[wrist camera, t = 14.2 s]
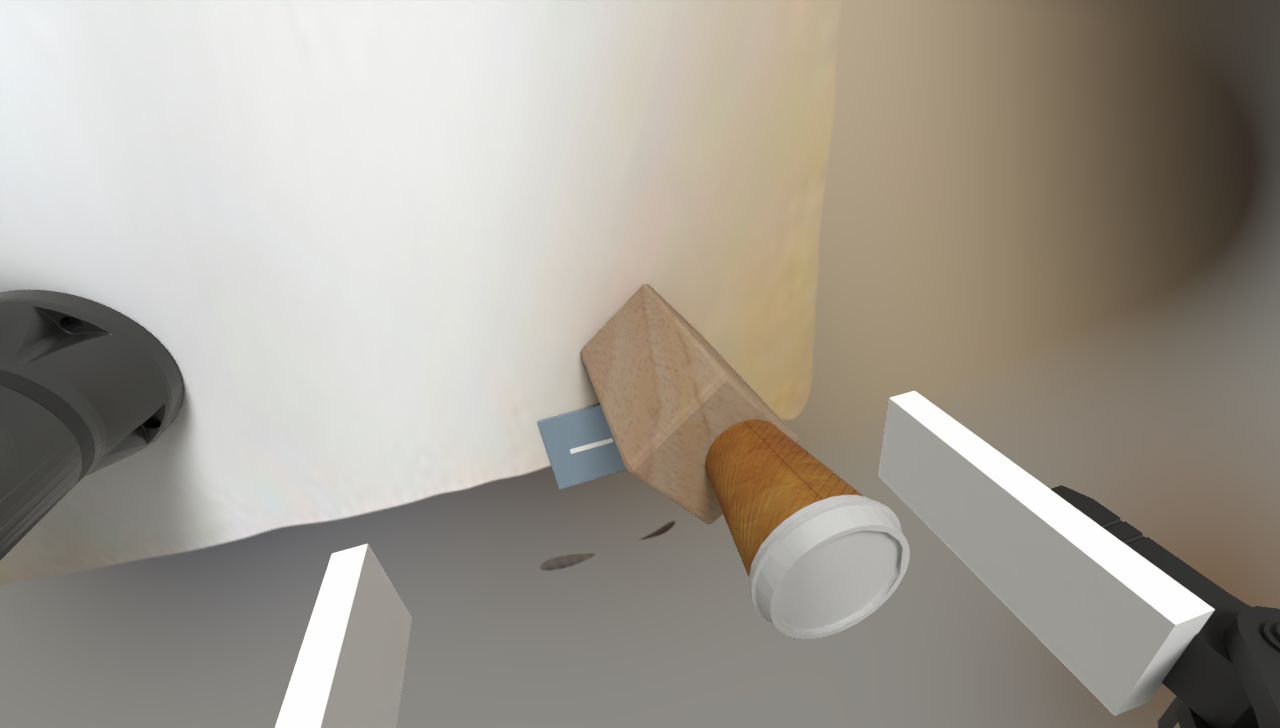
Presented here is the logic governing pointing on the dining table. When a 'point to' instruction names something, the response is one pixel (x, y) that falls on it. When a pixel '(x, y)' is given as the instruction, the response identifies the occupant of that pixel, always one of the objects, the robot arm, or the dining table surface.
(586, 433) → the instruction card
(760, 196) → the dining table surface
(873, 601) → the disposable coffee cup
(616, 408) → the wooden block
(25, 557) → the dining table surface
